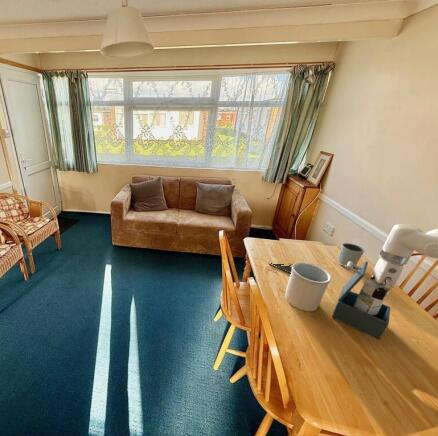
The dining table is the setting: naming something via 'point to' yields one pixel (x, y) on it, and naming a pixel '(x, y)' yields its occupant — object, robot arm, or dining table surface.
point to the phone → (284, 267)
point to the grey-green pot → (350, 253)
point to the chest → (362, 316)
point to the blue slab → (353, 278)
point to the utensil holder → (306, 286)
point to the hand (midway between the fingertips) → (374, 291)
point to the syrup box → (369, 298)
